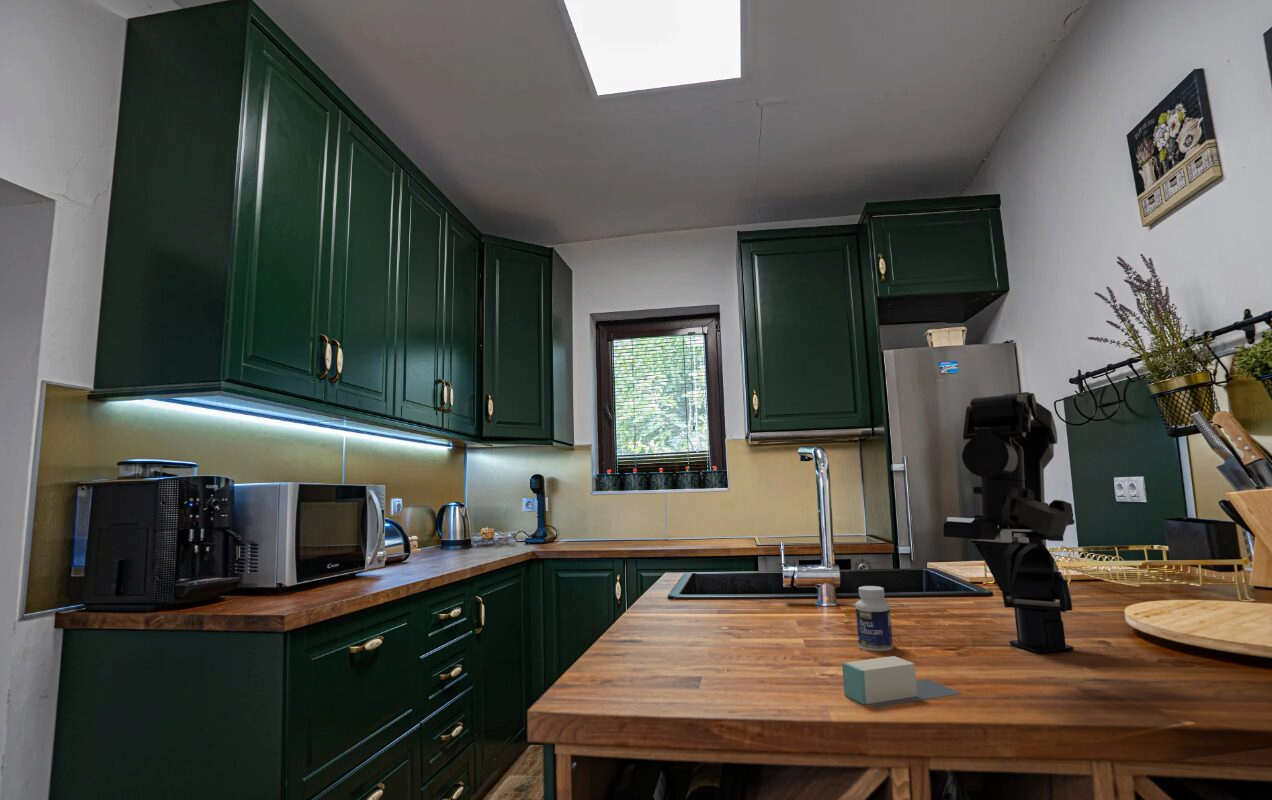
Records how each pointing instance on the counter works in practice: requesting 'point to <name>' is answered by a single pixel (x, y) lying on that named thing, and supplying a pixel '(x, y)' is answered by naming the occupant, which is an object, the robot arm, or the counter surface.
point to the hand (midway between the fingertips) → (1005, 591)
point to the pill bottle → (873, 620)
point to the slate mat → (922, 693)
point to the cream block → (879, 680)
